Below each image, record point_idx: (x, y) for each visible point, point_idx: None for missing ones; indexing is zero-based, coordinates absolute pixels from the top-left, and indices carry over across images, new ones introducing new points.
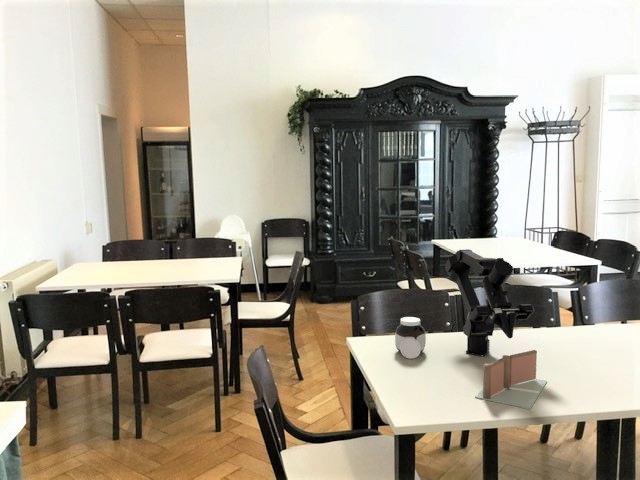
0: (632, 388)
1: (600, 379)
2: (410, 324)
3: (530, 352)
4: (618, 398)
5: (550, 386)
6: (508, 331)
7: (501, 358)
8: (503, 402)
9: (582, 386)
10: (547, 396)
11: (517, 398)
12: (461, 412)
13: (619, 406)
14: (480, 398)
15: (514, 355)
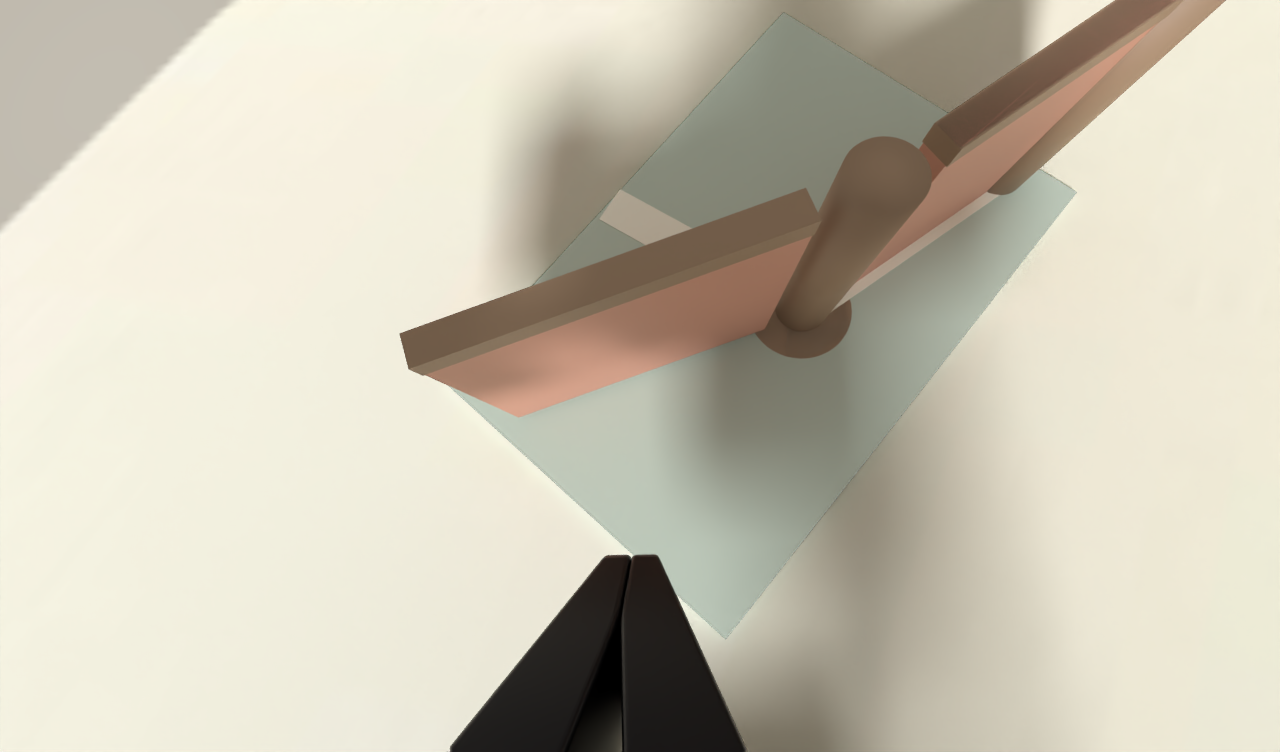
0: (31, 211)
1: (83, 368)
2: None
3: (506, 295)
4: (218, 98)
5: (473, 305)
6: (675, 617)
7: (960, 142)
8: (912, 92)
9: (278, 276)
10: (586, 164)
11: (797, 136)
12: (1218, 15)
13: (293, 14)
14: (1040, 173)
15: (760, 210)
